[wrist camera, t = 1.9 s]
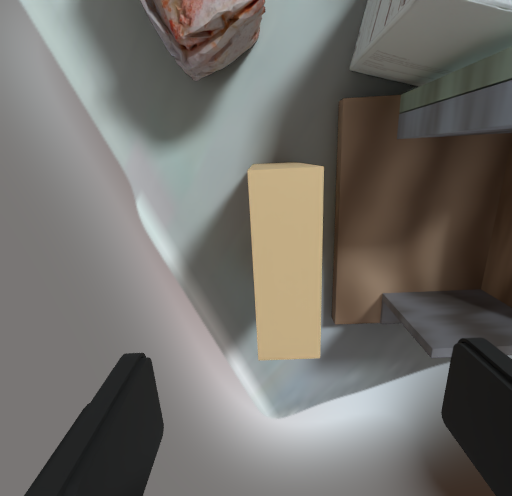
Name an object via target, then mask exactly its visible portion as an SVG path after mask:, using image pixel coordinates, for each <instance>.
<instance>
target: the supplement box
mask: <svg viewBox="0 0 512 496" xmlns="http://www.w3.org/2000/svg"><path fill="white" fill-rule="evenodd" d="M511 46H512V0H368V1H367V5H366V8H365V12H364V16H363V20H362V23H361V27H360V31H359V35H358V38H357V42H356V46H355V50H354V53H353V57H352V61H351V64H350V70H351V71H356V72H359V73H363V74H367V75H372V76H376V77H380V78H384V79H389V80H393V81H397V82H402V83H406V84H411V85H415V86H419V87H420V86H422V85H424V84H427V83H429V82H431V81H434V80H436V79H438V78H441V77H443V76H445V75H447V74H450V73H452V72H454V71H457V70H459V69H461V68H463V67H466V66H468V65H470V64H473V63H475V62H477V61H479V60H482V59H484V58H486V57H489V56H491V55H493V54H495V53H498V52H500V51H502V50H505V49H507V48H509V47H511Z"/></svg>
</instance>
